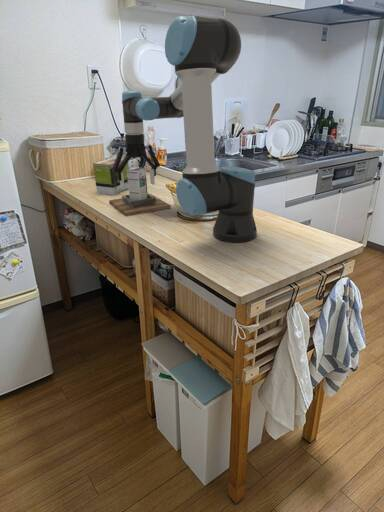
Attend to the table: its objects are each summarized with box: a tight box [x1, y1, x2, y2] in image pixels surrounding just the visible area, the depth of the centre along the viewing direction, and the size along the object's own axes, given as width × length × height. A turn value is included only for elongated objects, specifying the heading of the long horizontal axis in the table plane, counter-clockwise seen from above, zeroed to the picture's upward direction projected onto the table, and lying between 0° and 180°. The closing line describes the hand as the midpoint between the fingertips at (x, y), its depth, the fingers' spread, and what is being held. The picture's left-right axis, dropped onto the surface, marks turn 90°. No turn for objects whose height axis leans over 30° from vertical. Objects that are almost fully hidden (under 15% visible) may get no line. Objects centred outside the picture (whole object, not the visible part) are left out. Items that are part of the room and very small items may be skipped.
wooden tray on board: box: [108, 193, 171, 217], centre depth 161 cm, size 20×20×4 cm
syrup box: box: [127, 167, 149, 201], centre depth 158 cm, size 6×6×14 cm
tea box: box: [92, 157, 130, 196], centre depth 182 cm, size 15×10×15 cm, turn 154°
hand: (137, 186), depth 158 cm, fingers open, 13 cm apart
